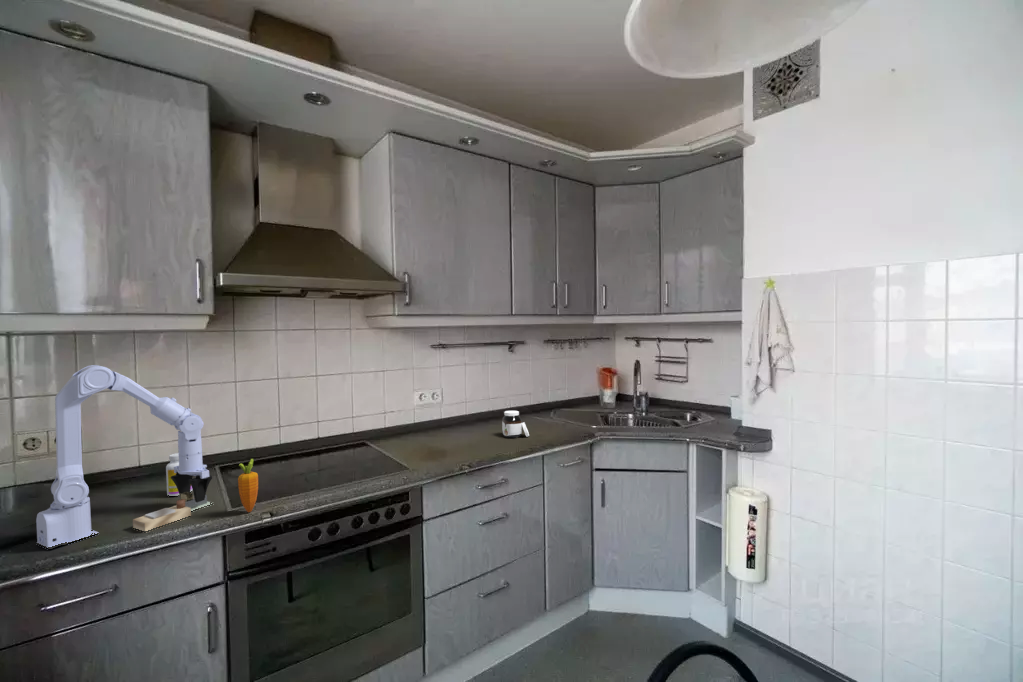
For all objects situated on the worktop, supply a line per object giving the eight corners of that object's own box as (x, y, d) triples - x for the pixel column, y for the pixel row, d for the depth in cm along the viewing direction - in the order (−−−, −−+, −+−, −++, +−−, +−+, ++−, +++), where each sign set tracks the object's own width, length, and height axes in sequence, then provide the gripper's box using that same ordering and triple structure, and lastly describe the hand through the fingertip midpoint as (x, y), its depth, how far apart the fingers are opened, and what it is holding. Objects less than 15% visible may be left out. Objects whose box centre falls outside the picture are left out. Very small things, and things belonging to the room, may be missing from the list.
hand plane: (145, 532, 118) (144, 515, 118) (133, 528, 120) (132, 511, 120) (191, 516, 128) (190, 500, 128) (179, 513, 130) (178, 497, 130)
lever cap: (185, 510, 131) (184, 496, 131) (177, 508, 133) (176, 494, 133) (207, 503, 137) (206, 489, 137) (199, 501, 138) (198, 487, 138)
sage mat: (186, 513, 130) (186, 512, 130) (171, 509, 133) (171, 508, 133) (213, 504, 137) (213, 502, 137) (199, 500, 140) (199, 499, 140)
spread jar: (500, 435, 216) (499, 411, 215) (521, 432, 220) (521, 408, 220) (511, 440, 205) (510, 414, 204) (533, 437, 209) (532, 412, 209)
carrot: (240, 517, 126) (238, 463, 125) (238, 512, 130) (236, 459, 129) (260, 513, 129) (258, 460, 128) (258, 507, 133) (256, 456, 132)
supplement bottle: (195, 493, 147) (193, 453, 147) (170, 499, 142) (168, 458, 142) (189, 488, 152) (187, 450, 151) (164, 494, 147) (163, 454, 146)
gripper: (219, 452, 135) (221, 498, 135) (190, 448, 141) (192, 491, 142) (193, 458, 129) (195, 506, 129) (165, 453, 135) (167, 499, 135)
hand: (192, 499), depth 135 cm, fingers open, 7 cm apart
